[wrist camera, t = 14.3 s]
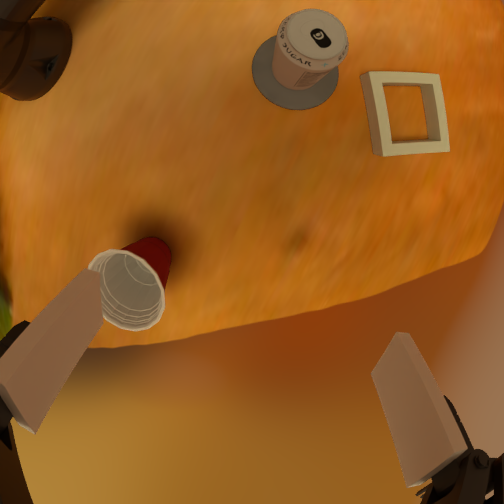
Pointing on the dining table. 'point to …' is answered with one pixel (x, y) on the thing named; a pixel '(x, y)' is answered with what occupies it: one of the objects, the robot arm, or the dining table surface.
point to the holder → (380, 120)
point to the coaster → (282, 94)
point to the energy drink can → (308, 48)
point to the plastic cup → (133, 283)
